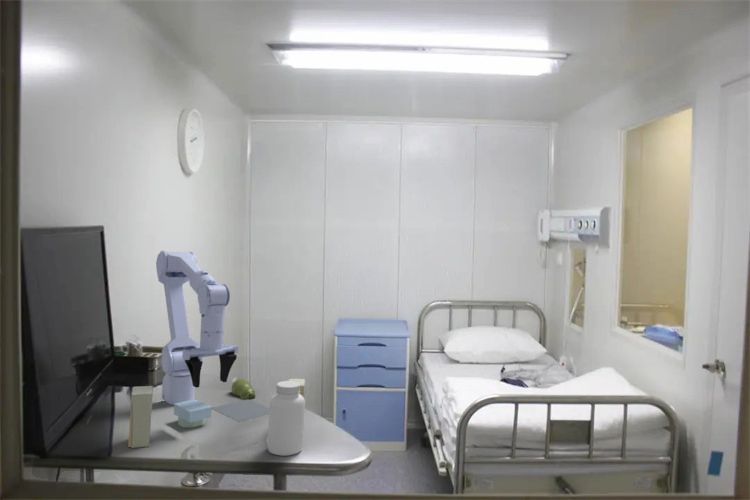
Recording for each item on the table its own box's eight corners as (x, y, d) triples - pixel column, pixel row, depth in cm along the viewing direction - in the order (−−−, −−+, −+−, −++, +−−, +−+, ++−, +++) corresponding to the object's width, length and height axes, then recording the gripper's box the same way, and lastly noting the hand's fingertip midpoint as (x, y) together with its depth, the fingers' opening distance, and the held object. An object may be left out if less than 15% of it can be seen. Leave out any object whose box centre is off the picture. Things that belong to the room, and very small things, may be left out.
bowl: (174, 427, 121) (174, 415, 121) (196, 421, 125) (197, 409, 125) (186, 433, 117) (186, 421, 117) (208, 427, 121) (209, 415, 121)
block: (173, 414, 122) (174, 403, 122) (195, 409, 126) (195, 399, 126) (189, 422, 116) (190, 411, 116) (211, 417, 120) (211, 406, 120)
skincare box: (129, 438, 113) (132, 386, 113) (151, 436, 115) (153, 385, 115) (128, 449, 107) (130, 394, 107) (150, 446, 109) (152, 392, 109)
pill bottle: (295, 458, 106) (298, 390, 106) (261, 454, 108) (264, 386, 108) (307, 444, 114) (310, 380, 114) (275, 440, 115) (278, 377, 115)
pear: (246, 375, 151) (261, 388, 143) (244, 391, 151) (259, 405, 144) (229, 377, 147) (243, 391, 140) (227, 394, 148) (241, 408, 140)
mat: (210, 412, 133) (210, 407, 133) (248, 403, 142) (248, 399, 142) (238, 426, 123) (239, 421, 123) (277, 415, 132) (277, 411, 132)
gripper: (192, 336, 117) (190, 392, 117) (245, 330, 128) (243, 382, 128) (179, 332, 122) (177, 386, 122) (231, 327, 133) (229, 376, 133)
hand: (210, 383), depth 125 cm, fingers open, 7 cm apart
